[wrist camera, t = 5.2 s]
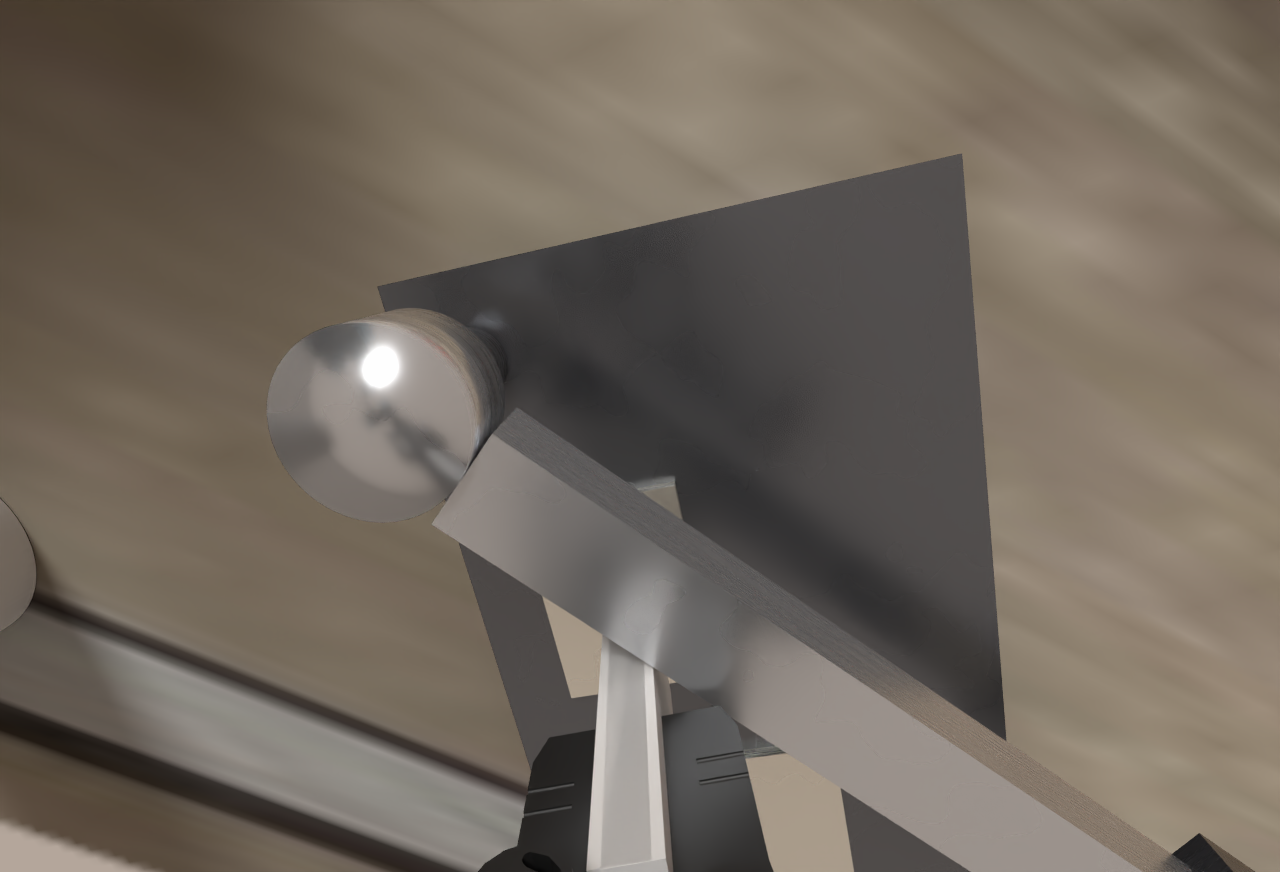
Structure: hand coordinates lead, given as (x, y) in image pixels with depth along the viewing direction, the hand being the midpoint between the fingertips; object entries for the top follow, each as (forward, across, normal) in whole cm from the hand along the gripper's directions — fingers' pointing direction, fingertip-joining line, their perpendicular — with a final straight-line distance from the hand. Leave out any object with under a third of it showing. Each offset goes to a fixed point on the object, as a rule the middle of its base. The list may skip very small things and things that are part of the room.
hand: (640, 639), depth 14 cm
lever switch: (+7, +2, -3) cm, 8 cm away
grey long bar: (-1, +3, 0) cm, 4 cm away
